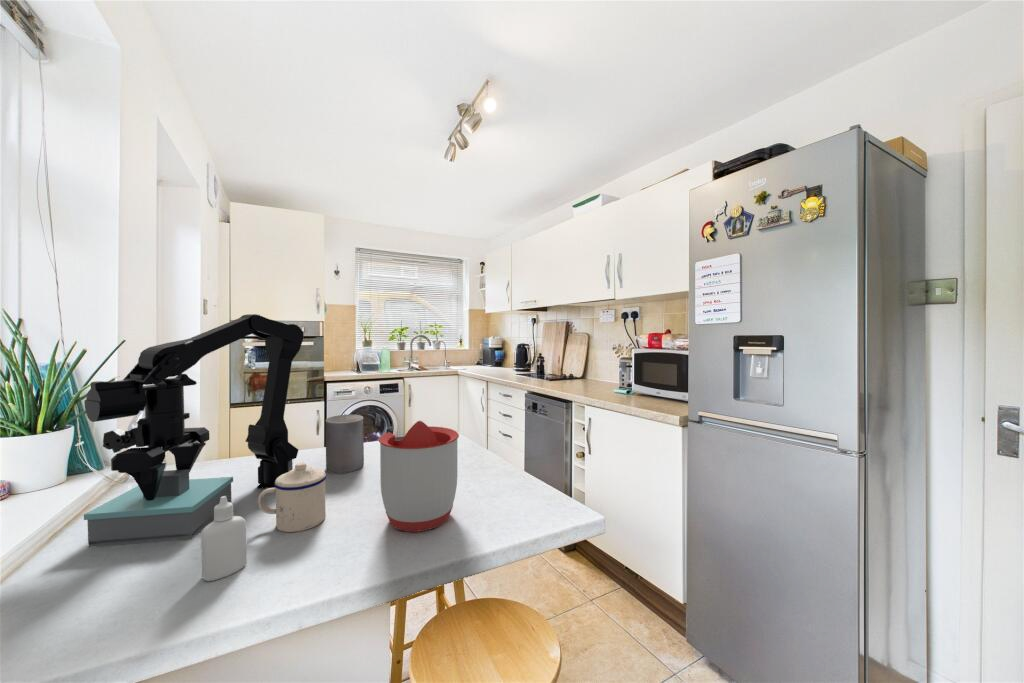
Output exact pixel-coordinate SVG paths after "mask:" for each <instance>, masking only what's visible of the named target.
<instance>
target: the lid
mask: <svg viewBox="0 0 1024 683" xmlns="http://www.w3.org/2000/svg"><path fill="white" fill-rule="evenodd" d="M230 483H231V484H232V483H234V476H225V477H224V476H223V477H211V478H210V477H206V478H194V479H193V478H190V473H189V469H188V470H176V469H175V470H174V469H173V470H172V469H171V470H164V472H163V475H162V478H161V481H160V485H159V488H158V491H157V494H156V496H155V499H154V500H151V501H147V500H146V499H145V497H144V495H143V493H142V491H141V489H140V488H139V486H138V485H137V486H135V487H133V488H131V489H130V490H127V491H125V492H123V493H121V494H120V495H118V496H116V497H114V498H113V499H111V500H108V501H106V502H105V503H102V504H101V505H99V506H97V507H96V508H93V509H91V510H89V511H88V512H85V513H84V514H83V521H88V520H92V519H106V518H120V517H133V516H147V515H160V514H174V513H187V512H193V511H195V510H196V509H197V508H199V507H200V506H201V505H203V504H204V503H205V502H207V501H208V500H209V499H211V498H212V497H213V496H215V495H216V494H217V493H219V492H220V491H221V490H223V489H224V488H225V487H226V486H228V485H229V484H230Z"/></svg>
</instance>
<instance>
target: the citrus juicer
mask: <svg viewBox="0 0 1024 683" xmlns="http://www.w3.org/2000/svg"><path fill="white" fill-rule="evenodd" d="M459 436H460V434H459V433H458V432H457V430H454V429H451V428H447V427H442V426H429V425H427V424H426V423H425V422H424V421H422V420H417V421H416V422H415V423H414V424H412V426H411V427H410V428H409V430H407V432H406V433H405V435H404V436H403V437H404V438H403V440H395V437H396V435H395V434H393V433H392V432H390V431H387V432H386V433H384V434H382V435H381V436H380V437H379V438H378V442H379V445H380V447H379V448H380V451H379V453H380V458H379V460H380V463H379V464H380V468H379V469H380V493H381V498H382V502H383V503H382V504H383V507H384V510H385V514H386V516H387V519H388V521H389V523H390V524H391V526H392V527H394V528H395V529H397V530H400V531H404V532H410V533H417V532H422V531H428V530H431V529H432V530H433V529H434V528H437V527H439V526H441V525H442V524H444V523H445V522H446V521H447V520H448V519H449V517H450V515H451V512H452V510H453V507H454V502H455V498H456V492H457V486H458V439H459V438H460V437H459Z"/></svg>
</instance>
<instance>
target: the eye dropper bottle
mask: <svg viewBox="0 0 1024 683" xmlns="http://www.w3.org/2000/svg"><path fill="white" fill-rule="evenodd" d="M200 533H201V534H200V547H201V548H200V551H201V552H200V553H201V555H200V556H201V559H200V560H201V577H202V579H203V580H204V581H206V582H212V581H216V580H220V579H223V578H225V577H228V576H230V575H233V574H235V573H237V572H238V571H241V570H242V569H243V568H244V567H246V566H247V561H248V559H247V558H248V557H247V522H246V520H245V518H243V517H242V516H239V515H234V503H233V502H232V501H231V502H228V501H227V498H226V496H222V497H221V498H220V503H219V504H218V505H216V506H215V507H214V520H213V521H212V522H211V523H210V524H209V525H207V526H206V527H205V528H204V529H203V530H202V531H200Z"/></svg>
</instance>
